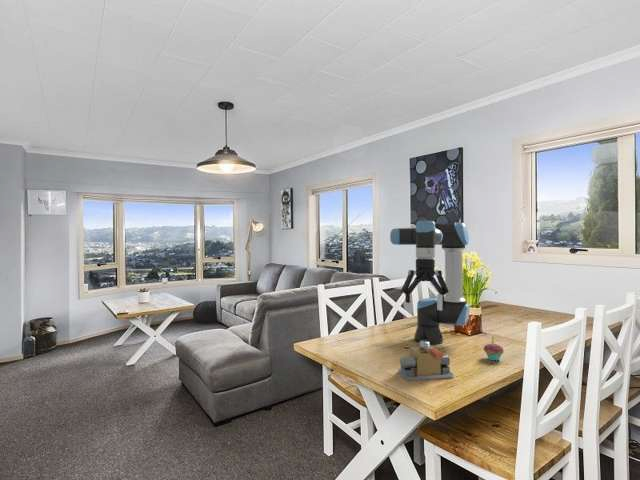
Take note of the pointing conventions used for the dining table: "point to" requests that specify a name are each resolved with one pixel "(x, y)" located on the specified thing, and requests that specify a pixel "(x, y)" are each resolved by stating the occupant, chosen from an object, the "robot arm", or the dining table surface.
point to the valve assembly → (424, 366)
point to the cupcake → (493, 350)
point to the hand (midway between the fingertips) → (424, 310)
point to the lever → (431, 350)
